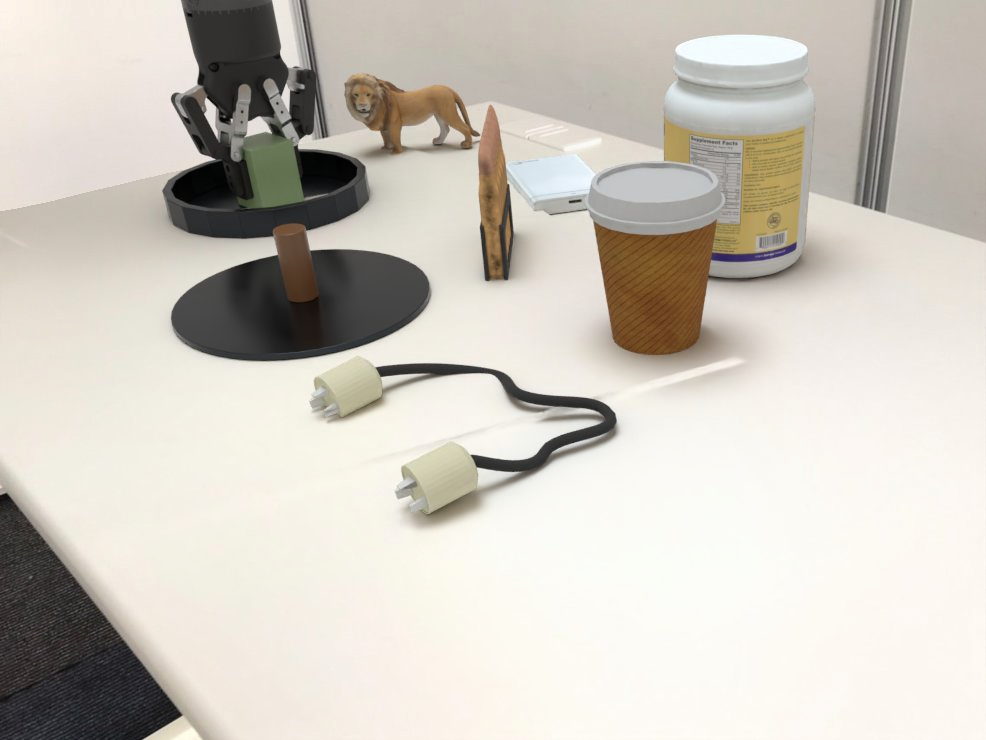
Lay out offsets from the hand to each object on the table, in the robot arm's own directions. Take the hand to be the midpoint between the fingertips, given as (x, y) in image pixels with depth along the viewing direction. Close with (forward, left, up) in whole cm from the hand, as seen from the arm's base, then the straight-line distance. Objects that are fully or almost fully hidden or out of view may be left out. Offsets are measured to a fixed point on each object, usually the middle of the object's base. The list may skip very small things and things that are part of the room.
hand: (268, 190), depth 101 cm
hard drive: (+26, -10, -2) cm, 28 cm away
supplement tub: (+32, -33, -2) cm, 46 cm away
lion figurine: (+18, +10, -2) cm, 21 cm away
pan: (0, 0, -2) cm, 2 cm away
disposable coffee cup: (+18, -44, -2) cm, 48 cm away
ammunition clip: (+14, -24, -2) cm, 28 cm away
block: (0, 0, -1) cm, 1 cm away
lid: (-3, -25, -1) cm, 25 cm away
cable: (+1, -48, -2) cm, 48 cm away
